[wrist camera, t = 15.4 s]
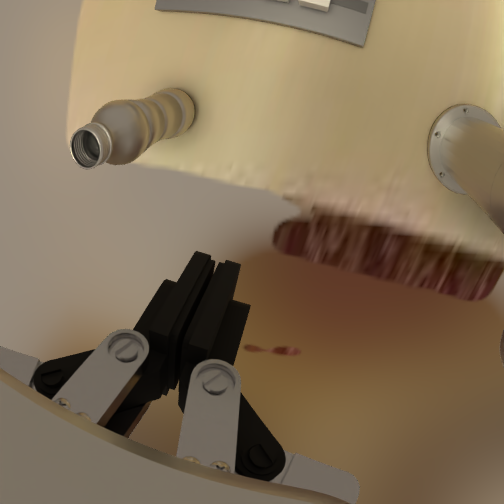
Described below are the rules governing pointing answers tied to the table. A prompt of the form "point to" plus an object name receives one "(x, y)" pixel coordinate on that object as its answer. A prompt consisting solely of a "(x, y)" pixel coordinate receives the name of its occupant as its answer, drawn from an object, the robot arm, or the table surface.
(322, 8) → the slider
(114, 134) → the plastic bottle
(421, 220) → the table surface
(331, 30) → the switch deck
